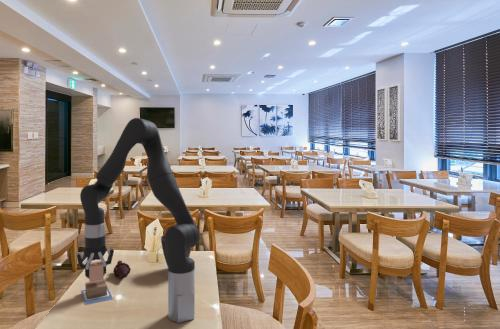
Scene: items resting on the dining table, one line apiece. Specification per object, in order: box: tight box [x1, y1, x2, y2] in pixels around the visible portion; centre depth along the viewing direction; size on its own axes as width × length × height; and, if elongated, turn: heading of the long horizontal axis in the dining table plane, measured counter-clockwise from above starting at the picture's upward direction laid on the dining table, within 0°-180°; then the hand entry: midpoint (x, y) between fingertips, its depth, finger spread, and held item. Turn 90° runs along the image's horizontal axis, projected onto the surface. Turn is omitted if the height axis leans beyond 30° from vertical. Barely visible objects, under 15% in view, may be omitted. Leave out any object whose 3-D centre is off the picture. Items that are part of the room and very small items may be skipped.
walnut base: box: [84, 278, 108, 299], centre depth 143 cm, size 7×7×4 cm
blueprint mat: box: [80, 286, 114, 306], centre depth 143 cm, size 14×10×1 cm
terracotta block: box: [88, 260, 105, 282], centre depth 143 cm, size 5×5×6 cm
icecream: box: [112, 259, 132, 279], centre depth 161 cm, size 7×7×15 cm
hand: (95, 276), depth 143 cm, fingers closed on terracotta block, 5 cm apart
